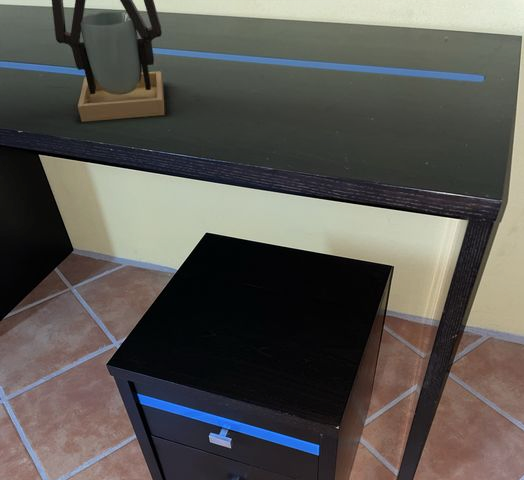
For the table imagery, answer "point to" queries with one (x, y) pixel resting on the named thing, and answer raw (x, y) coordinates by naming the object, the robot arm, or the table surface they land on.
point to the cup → (112, 51)
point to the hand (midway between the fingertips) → (120, 88)
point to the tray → (123, 101)
